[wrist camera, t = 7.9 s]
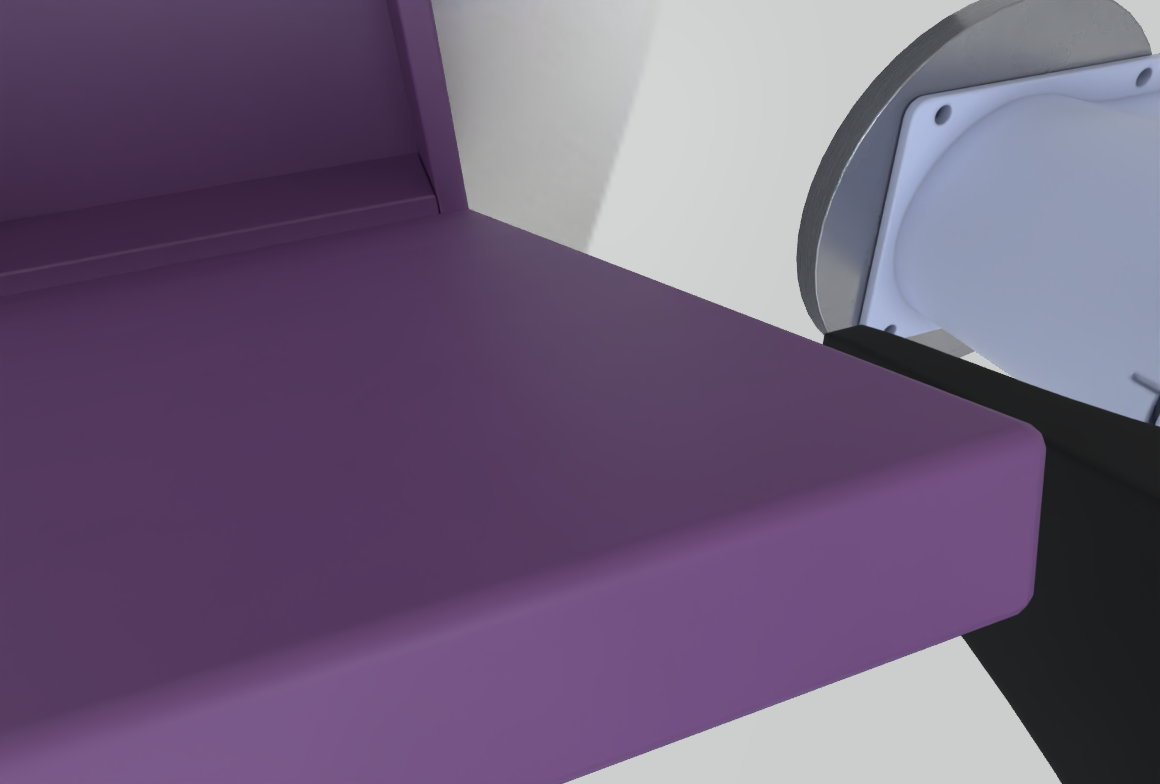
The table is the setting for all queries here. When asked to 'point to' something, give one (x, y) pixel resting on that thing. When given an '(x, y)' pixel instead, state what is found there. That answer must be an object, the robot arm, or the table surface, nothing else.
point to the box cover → (459, 515)
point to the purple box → (212, 129)
